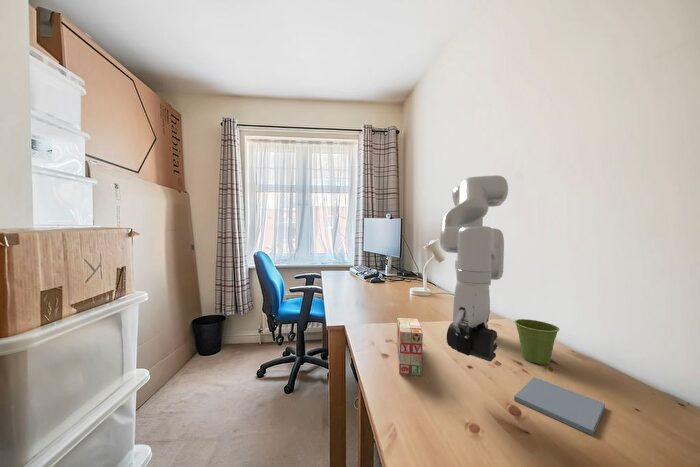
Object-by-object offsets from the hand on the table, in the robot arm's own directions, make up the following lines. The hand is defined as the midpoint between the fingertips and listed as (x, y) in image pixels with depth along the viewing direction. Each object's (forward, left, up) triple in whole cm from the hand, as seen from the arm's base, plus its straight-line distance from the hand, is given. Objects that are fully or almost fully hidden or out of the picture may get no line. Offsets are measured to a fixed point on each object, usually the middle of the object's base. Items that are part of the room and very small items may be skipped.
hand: (472, 348), depth 65 cm
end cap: (0, 0, -2) cm, 2 cm away
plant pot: (-35, +3, -12) cm, 38 cm away
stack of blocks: (-3, -22, -12) cm, 25 cm away
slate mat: (-13, +14, -12) cm, 23 cm away
